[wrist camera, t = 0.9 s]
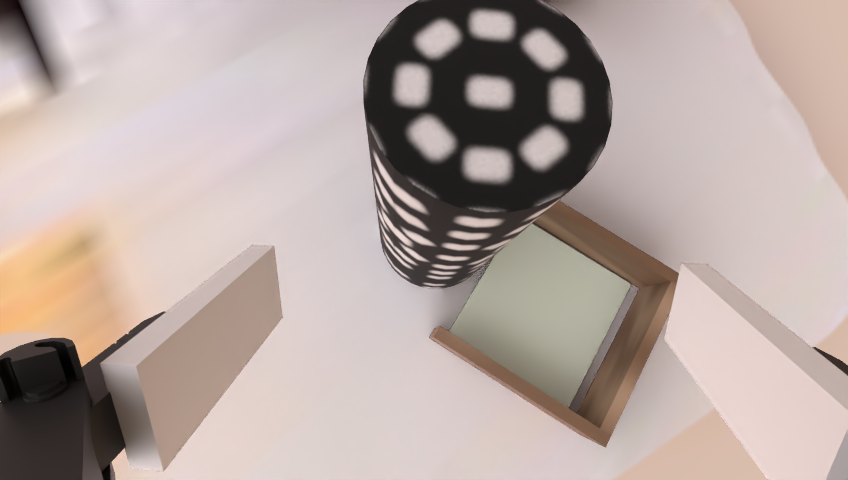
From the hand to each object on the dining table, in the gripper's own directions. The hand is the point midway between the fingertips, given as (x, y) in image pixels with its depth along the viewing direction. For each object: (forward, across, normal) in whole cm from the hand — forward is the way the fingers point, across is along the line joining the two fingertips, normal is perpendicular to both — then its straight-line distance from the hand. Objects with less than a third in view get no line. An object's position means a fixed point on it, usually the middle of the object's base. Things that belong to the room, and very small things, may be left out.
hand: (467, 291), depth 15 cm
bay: (+17, +6, -10) cm, 21 cm away
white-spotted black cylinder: (+19, -2, -5) cm, 20 cm away
